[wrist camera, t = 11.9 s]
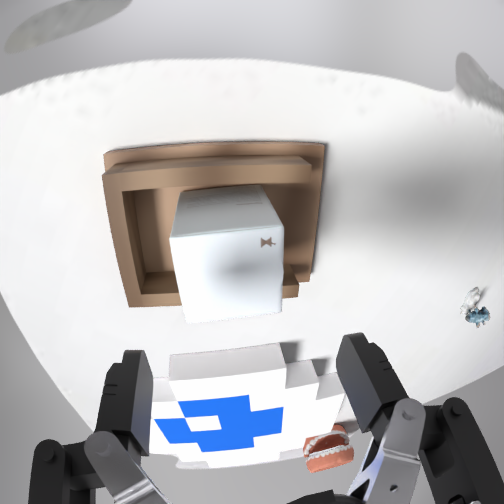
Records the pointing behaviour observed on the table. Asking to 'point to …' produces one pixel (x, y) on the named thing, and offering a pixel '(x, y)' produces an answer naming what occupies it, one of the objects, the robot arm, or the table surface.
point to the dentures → (332, 456)
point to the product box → (227, 253)
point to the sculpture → (477, 314)
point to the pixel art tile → (240, 406)
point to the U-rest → (197, 178)
